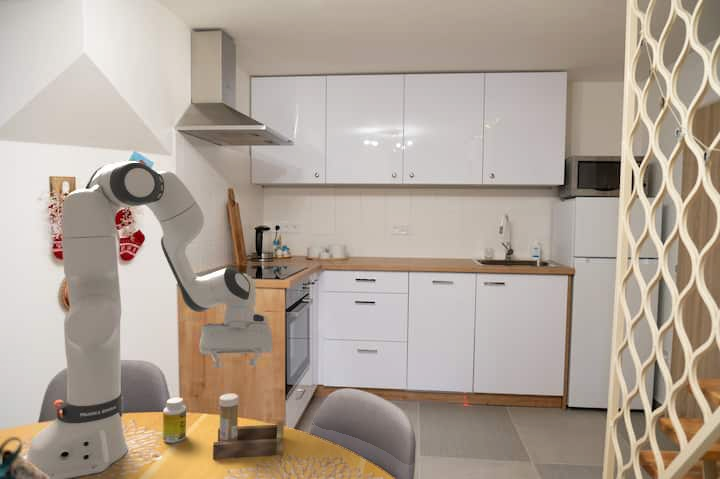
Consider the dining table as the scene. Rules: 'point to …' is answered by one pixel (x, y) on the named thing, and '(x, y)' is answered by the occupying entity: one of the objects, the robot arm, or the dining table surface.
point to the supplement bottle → (174, 421)
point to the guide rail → (252, 442)
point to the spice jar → (228, 417)
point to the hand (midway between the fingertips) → (234, 366)
